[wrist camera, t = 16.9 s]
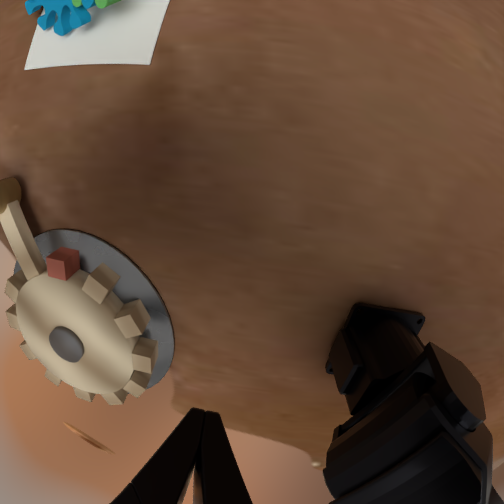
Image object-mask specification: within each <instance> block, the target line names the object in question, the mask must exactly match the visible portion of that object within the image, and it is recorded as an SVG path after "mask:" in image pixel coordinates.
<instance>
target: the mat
mask: <svg viewBox="0 0 504 504" xmlns="http://www.w3.org/2000/svg"><path fill="white" fill-rule="evenodd" d="M169 2H170V0H121V1H119V2H116V3H114V4H112V5H109V6H107V7H105V8H102V9H101V8H98V7H97V5H96V6H93V7H91V8H89V9H87V11H88V12H89V13H90V15H91V21H90V22H88V23H86V24H84V25H82V26H81V27H79V28H76V29H72V31H71V32H69V33H67V34H65V35H64V36H60V35H57V34H56V33H55V32H54V29H53V27H54V25H53V26H51V27H49V28H48V29H46V30H44V31H43V29H42V28H41V27H40V26H39V25H37V28H36V31H35V34H34V37H33V40H32V44H31V47H30V50H29V54H28V58H27V61H26V65H25V69H24V70H30V69H37V68H46V67H56V66H68V65H86V64H140V65H150V63H151V59H152V56H153V52H154V48H155V45H156V42H157V38H158V35H159V32H160V28H161V25H162V22H163V19H164V16H165V13H166V10H167V7H168V4H169ZM44 14H45V9H44V8H43V11H42V14H41V16H42V15H44ZM57 20H58V15H57V13H56V15H55V23H56V22H57Z"/></svg>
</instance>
